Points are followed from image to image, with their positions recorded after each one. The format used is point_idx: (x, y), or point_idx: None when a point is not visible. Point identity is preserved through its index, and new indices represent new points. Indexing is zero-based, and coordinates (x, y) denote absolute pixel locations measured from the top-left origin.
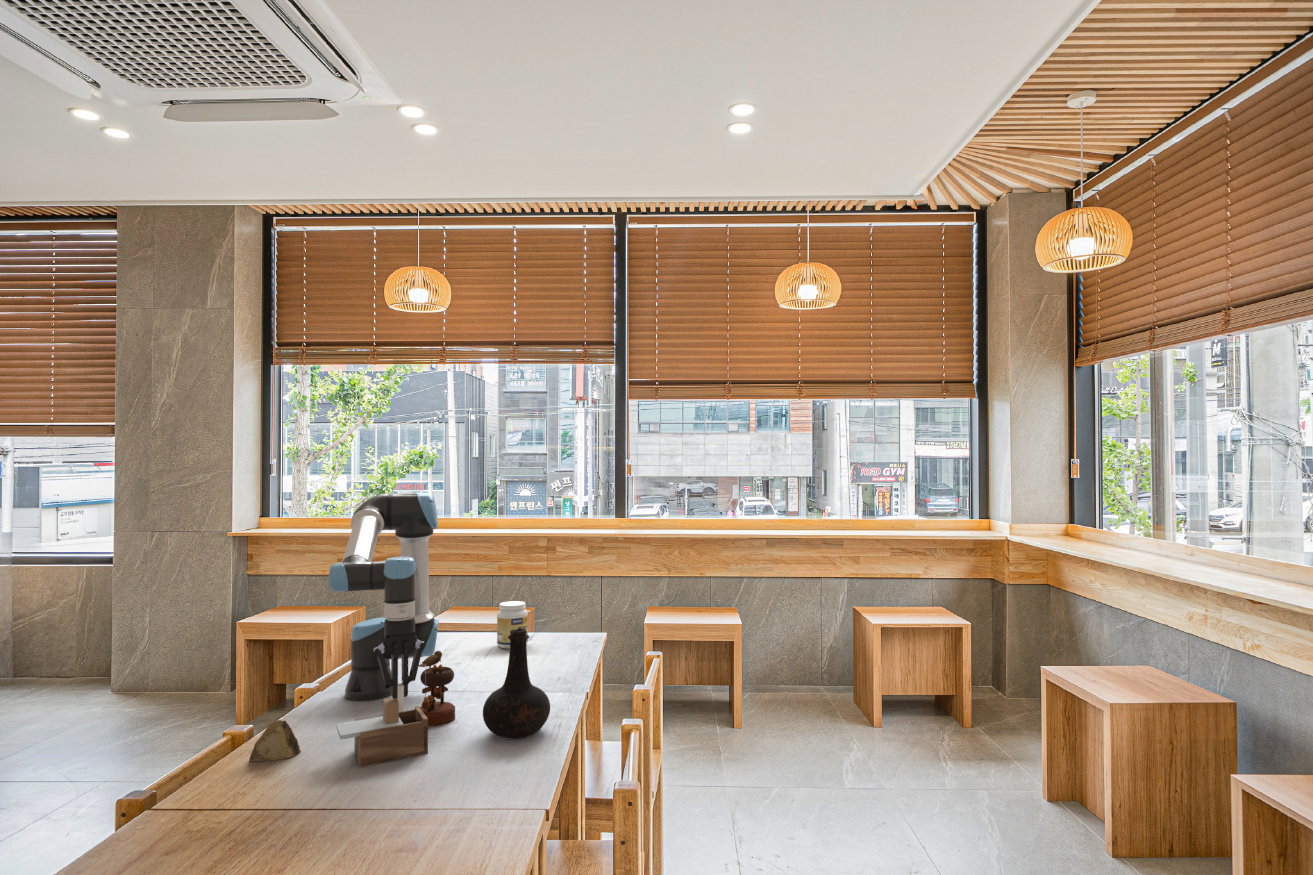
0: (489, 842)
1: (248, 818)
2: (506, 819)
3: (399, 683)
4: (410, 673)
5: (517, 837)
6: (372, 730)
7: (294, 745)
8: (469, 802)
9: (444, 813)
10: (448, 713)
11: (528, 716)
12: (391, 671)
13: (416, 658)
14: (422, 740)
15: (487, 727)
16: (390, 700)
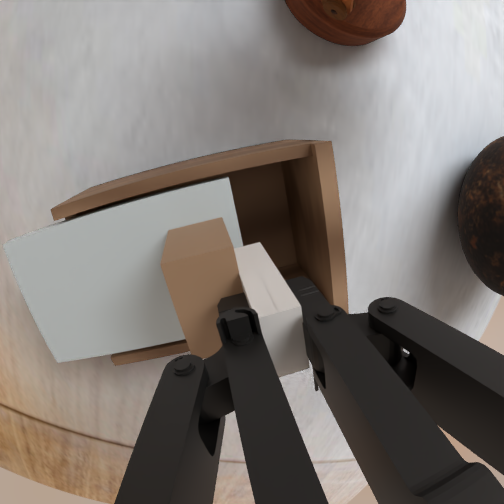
0: (329, 497)
1: (24, 430)
2: (358, 472)
3: (283, 316)
4: (394, 338)
5: (354, 490)
6: (149, 353)
7: None
8: (335, 451)
9: None
10: (388, 34)
11: None
12: (238, 420)
13: (488, 455)
14: None
15: (460, 222)
16: (209, 306)
